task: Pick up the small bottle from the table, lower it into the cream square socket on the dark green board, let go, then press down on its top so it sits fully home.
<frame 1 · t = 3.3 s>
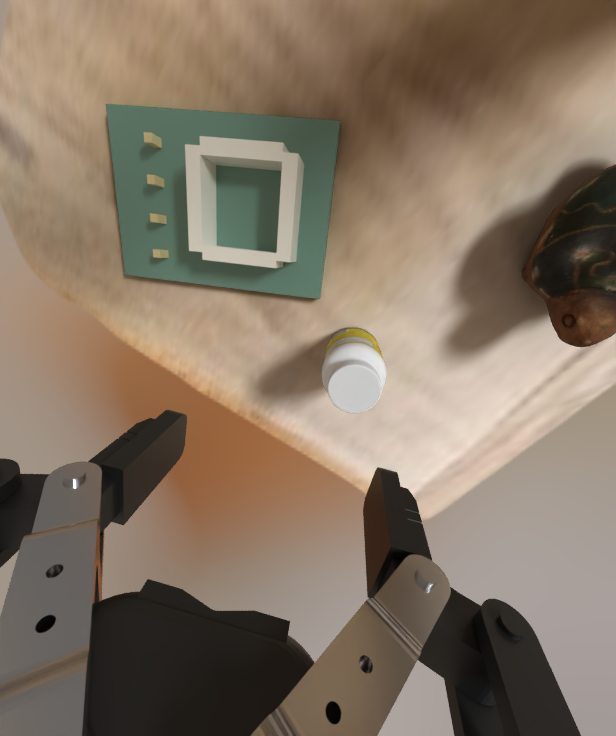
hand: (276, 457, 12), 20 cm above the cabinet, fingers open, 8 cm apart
supplement bottle: (352, 350, 32), on the cabinet
decorative turtle: (574, 244, 26), on the cabinet
header board: (223, 208, 28), on the cabinet
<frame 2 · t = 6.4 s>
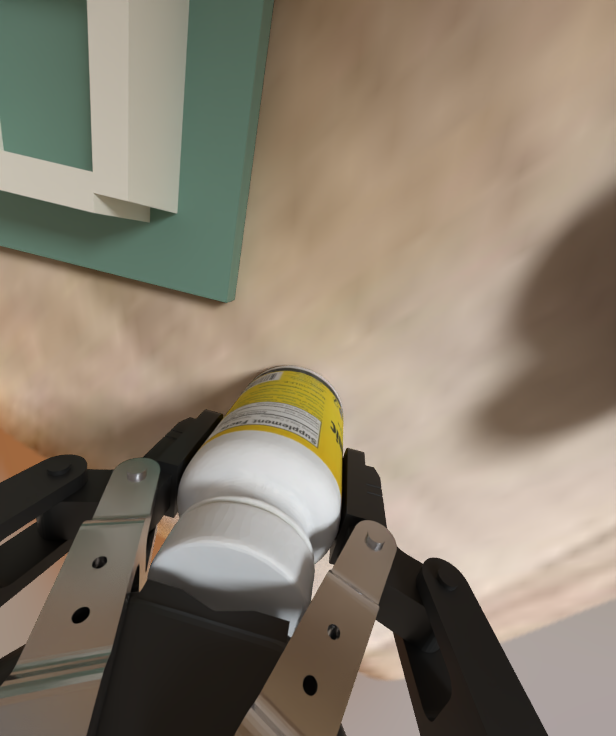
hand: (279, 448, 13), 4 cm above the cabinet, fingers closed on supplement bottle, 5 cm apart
supplement bottle: (294, 408, 16), on the cabinet, touching gripper
header board: (24, 73, 12), on the cabinet
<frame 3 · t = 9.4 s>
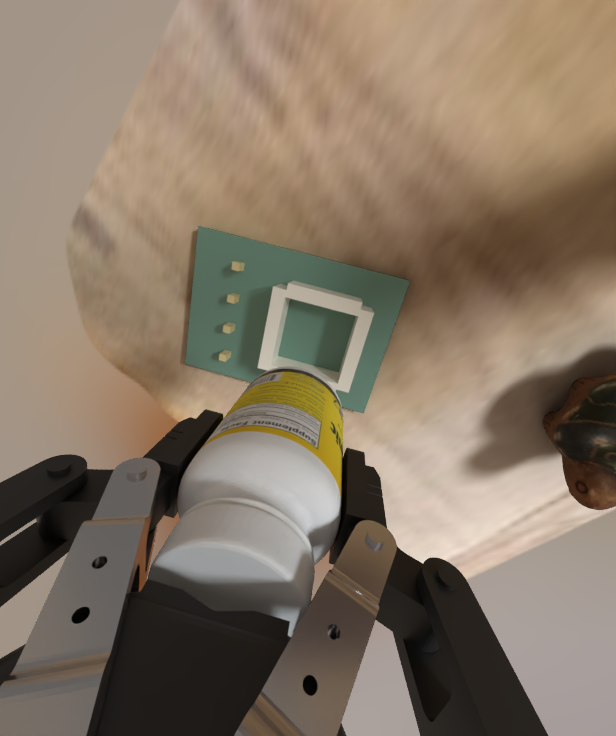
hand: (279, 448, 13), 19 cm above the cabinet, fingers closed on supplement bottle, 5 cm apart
supplement bottle: (294, 408, 16), point 16 cm above the cabinet, touching gripper
decorative turtle: (588, 404, 30), on the cabinet
header board: (288, 324, 31), on the cabinet
when the fingers open (6 cm above the cabinet, at t = 12.3 s): supplement bottle drops 1 cm, resting on header board.
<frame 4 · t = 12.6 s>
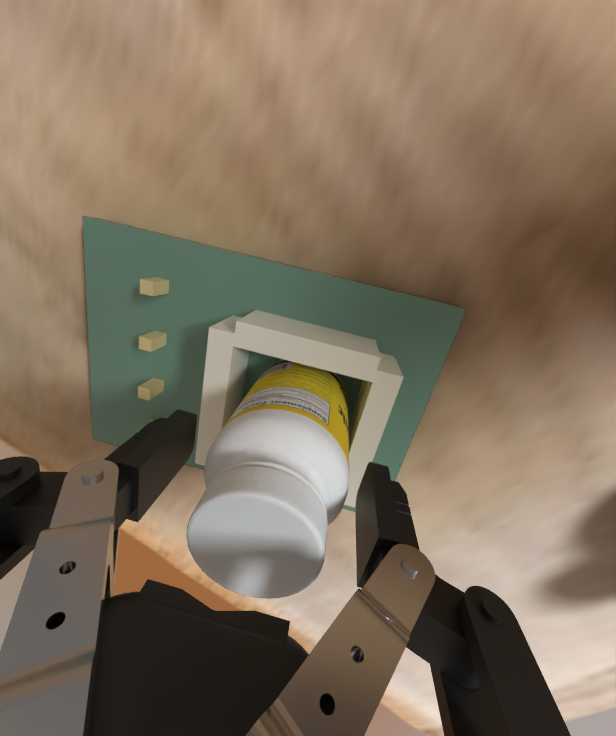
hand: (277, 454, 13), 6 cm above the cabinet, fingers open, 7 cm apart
supplement bottle: (302, 397, 18), point 1 cm above the cabinet, touching header board
header board: (253, 378, 19), on the cabinet
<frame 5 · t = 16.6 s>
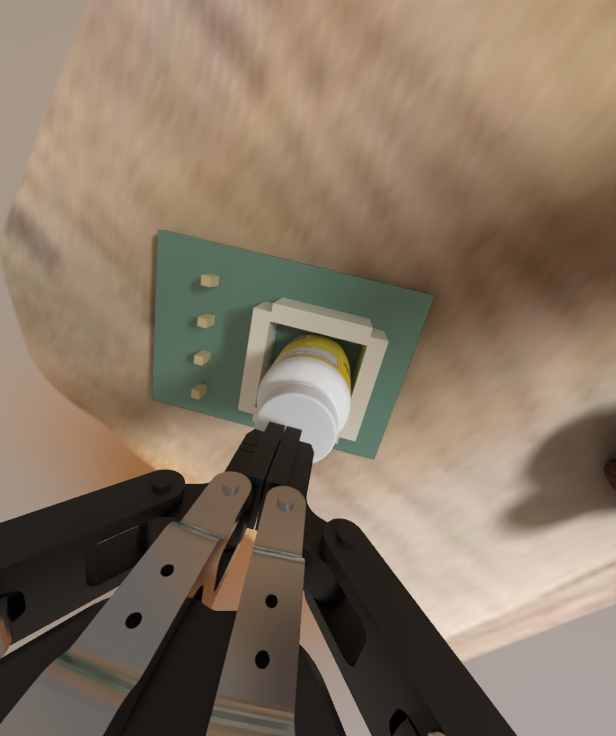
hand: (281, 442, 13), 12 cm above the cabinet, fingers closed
supplement bottle: (315, 363, 24), point 1 cm above the cabinet, touching header board
header board: (278, 350, 25), on the cabinet
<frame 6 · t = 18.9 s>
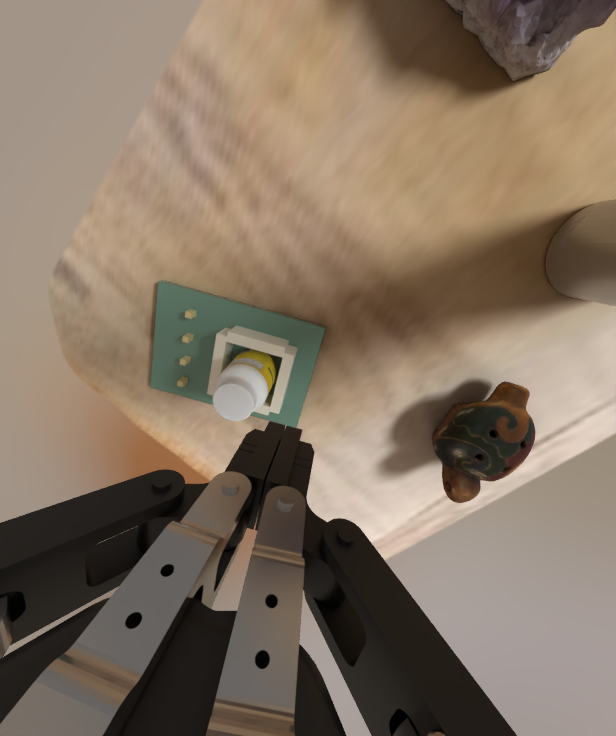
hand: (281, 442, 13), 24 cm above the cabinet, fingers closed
supplement bottle: (257, 366, 38), point 1 cm above the cabinet, touching header board
decorative turtle: (466, 421, 39), on the cabinet
header board: (234, 357, 38), on the cabinet
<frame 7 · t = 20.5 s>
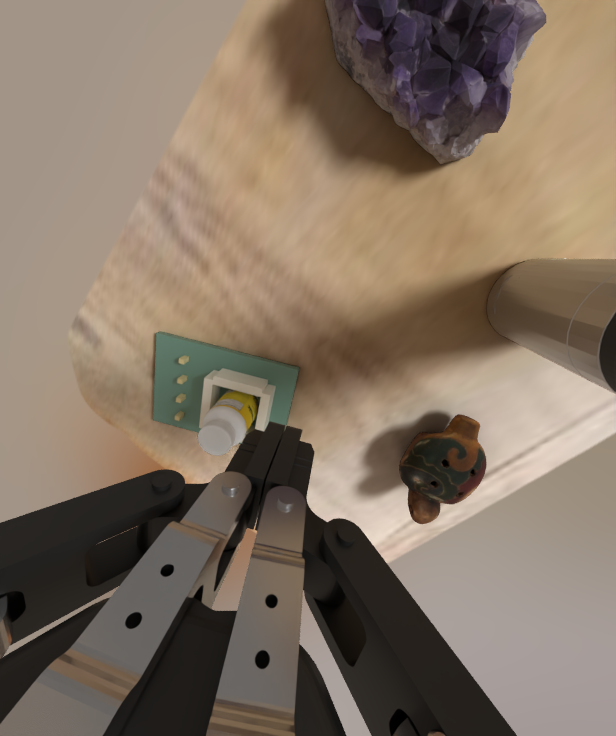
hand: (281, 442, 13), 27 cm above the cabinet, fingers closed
supplement bottle: (243, 401, 43), point 1 cm above the cabinet, touching header board
decorative turtle: (432, 448, 43), on the cabinet
geode: (408, 67, 29), on the cabinet
header board: (223, 393, 44), on the cabinet
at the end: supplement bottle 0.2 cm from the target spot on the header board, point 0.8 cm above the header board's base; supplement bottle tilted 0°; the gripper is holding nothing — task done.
